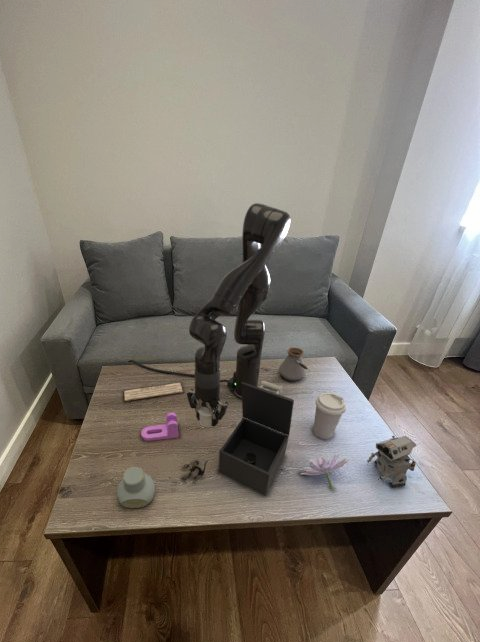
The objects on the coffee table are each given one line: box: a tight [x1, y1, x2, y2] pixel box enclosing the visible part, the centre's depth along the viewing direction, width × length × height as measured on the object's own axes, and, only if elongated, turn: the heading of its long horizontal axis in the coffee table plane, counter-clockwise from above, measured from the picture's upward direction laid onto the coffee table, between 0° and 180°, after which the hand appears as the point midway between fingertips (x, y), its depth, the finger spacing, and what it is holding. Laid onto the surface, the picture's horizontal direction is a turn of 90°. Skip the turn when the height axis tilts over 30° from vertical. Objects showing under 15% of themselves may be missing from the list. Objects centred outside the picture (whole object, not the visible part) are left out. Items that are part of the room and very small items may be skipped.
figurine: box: [366, 435, 417, 489], centre depth 93 cm, size 9×12×15 cm
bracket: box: [140, 411, 180, 442], centre depth 112 cm, size 13×6×7 cm, turn 98°
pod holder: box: [244, 453, 257, 466], centre depth 98 cm, size 4×4×5 cm
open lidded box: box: [218, 417, 290, 497], centre depth 99 cm, size 17×16×10 cm
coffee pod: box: [198, 406, 216, 428], centre depth 101 cm, size 6×6×5 cm
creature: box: [182, 460, 208, 481], centre depth 98 cm, size 8×5×8 cm
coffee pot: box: [278, 347, 310, 382], centre depth 132 cm, size 21×12×15 cm, turn 179°
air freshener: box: [116, 466, 156, 509], centre depth 91 cm, size 11×8×10 cm
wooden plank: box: [123, 382, 184, 402], centre depth 133 cm, size 24×7×2 cm, turn 102°
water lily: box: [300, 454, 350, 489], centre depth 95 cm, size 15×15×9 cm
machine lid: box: [241, 380, 295, 437], centre depth 98 cm, size 17×16×5 cm
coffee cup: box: [312, 391, 347, 440], centre depth 109 cm, size 10×10×15 cm
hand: (207, 421), depth 103 cm, fingers closed on coffee pod, 4 cm apart
